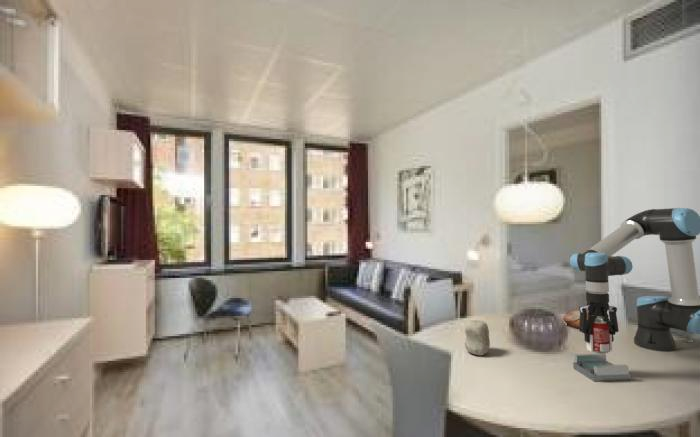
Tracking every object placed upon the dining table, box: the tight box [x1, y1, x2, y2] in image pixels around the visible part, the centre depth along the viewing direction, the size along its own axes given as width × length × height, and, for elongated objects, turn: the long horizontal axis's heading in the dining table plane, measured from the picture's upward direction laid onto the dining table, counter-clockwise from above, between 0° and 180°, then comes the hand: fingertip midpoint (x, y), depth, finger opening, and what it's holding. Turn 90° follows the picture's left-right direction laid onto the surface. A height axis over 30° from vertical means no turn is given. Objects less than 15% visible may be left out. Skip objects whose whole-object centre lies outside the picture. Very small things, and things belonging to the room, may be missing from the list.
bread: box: [562, 308, 599, 330], centre depth 200 cm, size 16×20×10 cm
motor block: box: [572, 353, 631, 382], centre depth 140 cm, size 14×13×6 cm
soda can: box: [591, 318, 611, 354], centre depth 140 cm, size 7×7×12 cm
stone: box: [464, 319, 491, 356], centre depth 166 cm, size 11×11×15 cm
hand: (599, 350), depth 140 cm, fingers closed on soda can, 7 cm apart
